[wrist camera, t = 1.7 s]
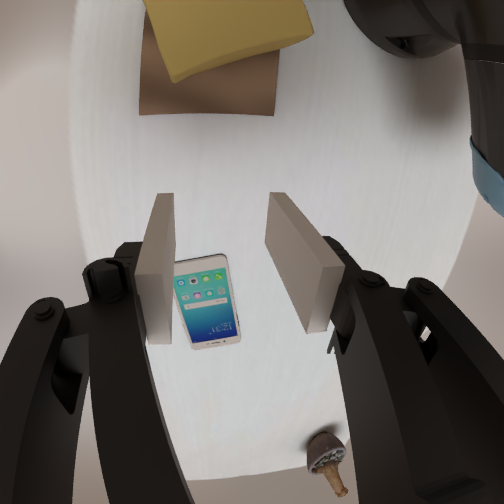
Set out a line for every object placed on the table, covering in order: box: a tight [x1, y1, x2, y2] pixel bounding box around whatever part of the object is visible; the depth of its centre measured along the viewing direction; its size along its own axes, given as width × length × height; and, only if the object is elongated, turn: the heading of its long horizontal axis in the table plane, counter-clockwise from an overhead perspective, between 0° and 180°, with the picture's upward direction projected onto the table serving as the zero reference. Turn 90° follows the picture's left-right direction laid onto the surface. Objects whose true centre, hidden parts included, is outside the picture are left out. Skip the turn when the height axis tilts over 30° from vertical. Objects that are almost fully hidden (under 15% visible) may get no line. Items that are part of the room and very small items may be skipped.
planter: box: [307, 432, 348, 497], centre depth 61 cm, size 15×17×20 cm
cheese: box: [143, 0, 314, 83], centre depth 17 cm, size 10×11×10 cm
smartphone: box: [173, 254, 241, 350], centre depth 38 cm, size 7×1×15 cm
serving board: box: [139, 9, 280, 116], centre depth 22 cm, size 16×13×1 cm
